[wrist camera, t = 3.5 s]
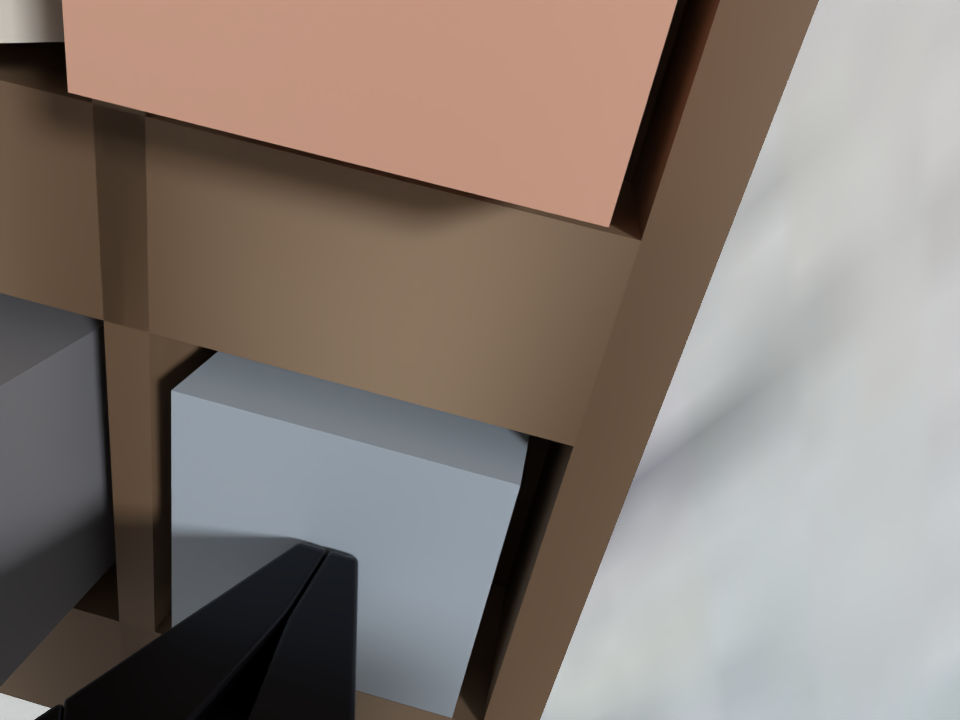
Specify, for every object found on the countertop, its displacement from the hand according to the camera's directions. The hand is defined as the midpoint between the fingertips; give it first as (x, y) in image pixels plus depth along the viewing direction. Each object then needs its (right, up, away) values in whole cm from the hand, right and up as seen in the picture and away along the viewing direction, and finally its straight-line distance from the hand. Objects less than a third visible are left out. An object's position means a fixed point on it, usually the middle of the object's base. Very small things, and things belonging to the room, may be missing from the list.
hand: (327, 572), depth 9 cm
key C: (0, +1, +3) cm, 3 cm away
